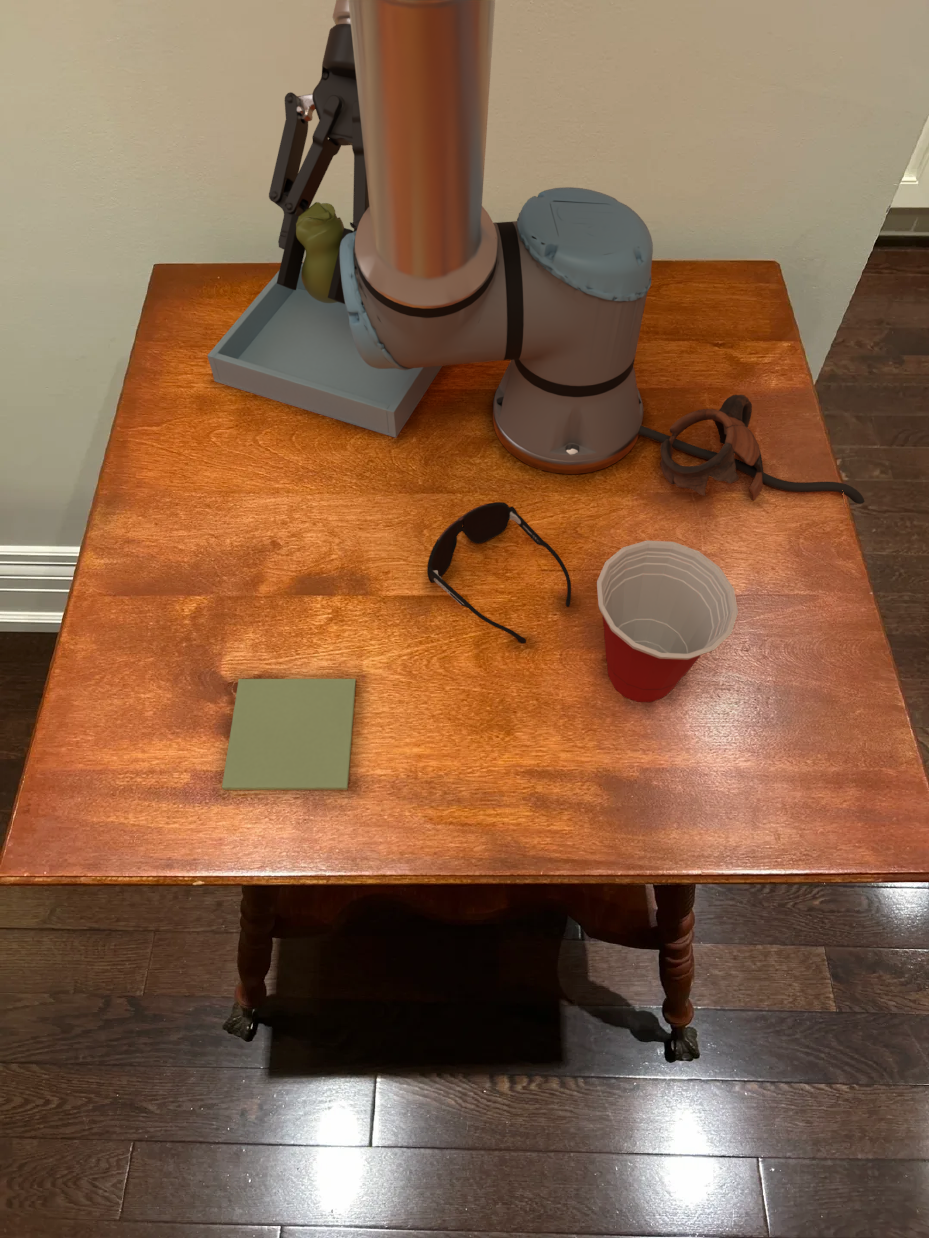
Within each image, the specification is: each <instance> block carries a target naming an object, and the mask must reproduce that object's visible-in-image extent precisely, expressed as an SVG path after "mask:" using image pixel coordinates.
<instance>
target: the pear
mask: <svg viewBox="0 0 929 1238" xmlns="http://www.w3.org/2000/svg"><path fill="white" fill-rule="evenodd" d="M344 228H345V226H344V223H343V221H342V218H341V217H338V216H337V214H336V209H335V207H334V206H333V205H332V204H331V203H327V202H325V203H324V202H323V203H321V202H319V201H315V202H314V203H313V204H311V205H310V207H309V208H308V209H307V210H306V211H305V212H304V213H302V214H301V215H300V216H299V218H298V221H297V223H296V236H297V239H298V240H299V242H300V243H301V244H302V245H303V246H304V248H305V256H304V258H303V266H302V271H301V276H302V282H303V285H304V287H305V289H306V290H307V292H308V293H309V294H310V295H311V296H312V297H313V298H315V299H316V300H318V301H320V302H323V303H336V302H337V301H335V300H332V299H330V298H328V294H329V290H330V285H331V281H332V277H333V273H334V268H335V264H336V260H337V256H338V252H339V247H340V243H341V239H342V235H343V230H344Z"/></svg>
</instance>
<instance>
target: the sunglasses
mask: <svg viewBox="0 0 929 1238" xmlns="http://www.w3.org/2000/svg"><path fill="white" fill-rule="evenodd" d="M509 521H514V522H515V523H516V525H518V526H519V528H520V529H521V530H522V531H524V533H525V534H526V535H527V536H528V537H529V538H530V539H531V540H532V542H534V543H535V544H536V545H537V546H540V547H543V548H545V549H547V551H548V552H549V553H550V554H551V555H552V556H553V558H554V559H555V560H556V561H557V563H558V565H559V566H560V568H561V570H562V572H563V574H564V577H565V580H566V588H567V591H566V598H565V606H566V607H567V608H570V606H571V601H572V600H571V599H572V582H571V581H572V580H571V577H570V574H569V572H568V569H567V567H566V565H565V563H564V562H563V560H562V558H561V557H560V556H559V554H558V553H557V552H556V551H555V549H553V547H551V545H550V544H549V543H548V542H546V541H545V540H543V538H541V536H540V535H539V534H538V533H537V532H536V530H534V529H533V528H532V526H531V525H529V524H528V522H526V520H524V518H523V517H521V515H520V514H519V513H518V511H517V509H516V508H515V507H514V506H513V505H512V506H509V505H508V504H507V503H506V502H502V501H496V502H489V503H485V504H481V505H479V506H476V507H474V508H472V509H470V510H469V511H467V512H466V513H464V514H463V515H462V516H461V515H460V516H459V517H458V518H457V519H456V520H455V521H453V522H452V523H451V524H450V525H449V526H447V527H446V528H445V529H444V531H443V532H442V533H441V534H440V535H439V537H438V538H437V540H436V541H435V543H434V545H433V547H432V549H431V551H430V554H429V557H428V561H427V568H426V574H427V577H428V581H429V582H430V583H431V584H434V583H435V584H437V585H438V586H439V587H440V588H441V589H442V590H443V591H444V592H446V593H447V594H448V595H449V596H450V597H451V598H452V599H453V600H455V601H456V602H457V603H458V604H459V605H460V606H462V607H465V608H467V609H468V610H469V611H471V613H473V614H474V615H475V616H477V617H478V618H479V619H481V620H482V621H484V622H485V623H487V624H489V625H491V626H492V627H494V628H497V629H499V630H501V631H504V632H505V633H507V634H509V635H511V636H512V637H513V638H514V639H516V640H517V642H518V643H520V644H526V643H527V639H526V638H525V637H523V636H521V635H520V634H519V633H517V632H516V631H514V630H513V629H510V628H508V627H506V626H504V625H502V624H500V623H497V622H495V621H493V620H491V619H490V618H488V617H487V616H485V615H484V614H482V613H481V612H480V611H479V610H477V609H476V608H475V607H474V606H473V605H471V603H470V602H469V601H467V600H466V599H465V597H463V596H461V594H460V593H459V592H458V591H456V590H455V589H454V588H453V587H452V586H451V585H449V583H447V582H446V581H445V580H444V579H443V578H442V577H443V575H444V574H445V573H446V572H447V571H448V569H449V568H450V566H451V564H452V561H453V558H454V553H455V551H456V547H457V545H458V539H457V538H458V535H459V534H460V533H463V534H464V535H465V537H467V539H469V541H471V542H472V543H474V544H483V543H486V542H488V541H490V540H491V539H494V538H495V537H497V536H500V535H501V534H502V533H504V532H505V531H506V529H507V528H508V526H509Z"/></svg>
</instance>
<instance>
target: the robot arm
mask: <svg viewBox="0 0 929 1238" xmlns="http://www.w3.org/2000/svg"><path fill="white" fill-rule="evenodd" d="M334 4H335V5H334V9H333V13H332V20H333V23H334V25H333V26H332V27H331V28H330V29H329V32H328V36H327V41H326V44H325V45H326V46H325V50H324V54H323V59H322V65H321V75H320V76H321V77H320V80H319V81H318V83H317V85H316V86H315V87H314V89H313V91H312V93H308V94H303V95H297V94H296V93H294V92H291V91H290V92H287V94H285V96H284V110H285V111H284V112H285V113H284V114H285V121H284V125H283V129H282V135H281V139H280V143H279V148H278V152H277V157H276V160H275V166H274V170H273V175H272V178H271V182H270V183H271V184H270V187H269V192H268V198H269V200H270V201H271V202H272V203H274V204H275V205H277V207H279V208H280V209H281V210H282V211H283V218H282V224H281V228H280V232H279V236H278V240H277V241H278V242H277V244H278V248H280V249H282V250H283V252H282V258H281V261H280V267H279V270H278V271H279V275H278V279H277V284H279V285H282V286H284V287H287V288H289V289H292V290H296V288H297V283H298V279H299V275H300V270H301V266H302V262H303V263H304V258H305V254H306V250H305V248H304V246H303V245H302V244H301V243H300V242H299V240H298V239H297V236H296V223H297V221H298V218H299V216H300V215H301V214H302V213H304V212H305V211H306V210H307V209H308V208H310V207H311V206H312V203H313V201H314V199H315V196H316V194H317V192H318V190H319V188H320V186H321V183H322V181H323V179H324V177H325V175H326V173H327V171H328V169H329V167H330V164H331V163H332V160H333V158H334V156H336V155H338V154H339V152H340V150H341V147H345V146H351V149H352V153H353V193H352V194H353V197H352V198H353V200H352V201H353V202H352V203H353V205H352V222H351V221H350V222H349V226H350V227H351V228H352V229H350V228H346V227H344V230H343V235H342V239H341V243H340V247H339V252H338V256H337V260H336V264H335V268H334V273H333V277H332V281H331V285H330V290H329V294H328V298H330V299H332V300H335V301H337V302H340V303H343V304H345V305H346V309H347V312H348V316H349V324H350V328H351V332H352V335H353V339H354V342H355V345H356V347H357V350H358V352H359V354H360V356H361V358H362V359H363V360H364V362H365V363H367V364H368V365H369V366H371V367H374V368H378V369H390V368H398V369H400V370H409V369H412V368H421V367H432V366H442V367H444V366H454V365H465V364H476V363H477V364H479V363H488V362H500V361H501V362H502V361H509V363H508V365H507V367H506V369H505V372H504V373H503V376H502V378H501V380H500V382H499V385H498V386H497V389H496V390H495V393H494V396H493V401H492V402H493V404H492V425H493V429H494V432H495V434H496V436H497V439H498V440H499V442H500V443H501V446H503V448H504V449H505V450H506V451H507V452H509V454H511V455H512V456H513V457H515V458H516V459H517V460H519V461H520V462H522V463H524V464H526V465H528V466H530V467H532V468H534V469H538V470H541V471H545V472H549V473H554V474H561V475H562V474H563V475H580V474H587V473H593V472H596V471H600V470H603V469H606V468H608V467H610V466H612V465H614V464H616V463H618V462H619V461H620V460H622V459H623V458H625V457H626V456H627V455H628V454H629V453H630V452H631V451H632V449H633V448H634V446H635V445H636V443H637V441H638V439H639V437H640V436H641V437H644V438H647V439H650V440H652V441H655V442H657V443H659V444H662V443H663V442H664V441H665V440H666V439H670V437H671V436H672V435H671V436H670V435H668V434H666V433H663V432H660V431H657V430H655V429H652V428H649V427H647V426H644V425H642V423H643V418H644V404H643V400H642V396H641V393H640V391H639V387H638V385H637V378H636V371H635V367H634V366H635V361H636V355H637V350H638V345H639V339H640V333H641V328H642V323H643V317H644V311H645V306H646V301H647V298H648V297H647V296H648V292H649V290H650V289H651V285H652V265H653V253H654V249H653V248H654V244H653V238H652V235H651V232H650V230H649V227H648V226H647V224H646V223H645V221H644V219H642V218H641V217H640V215H639V214H638V213H637V212H636V211H635V210H633V209H632V207H630V206H628V205H627V204H625V203H623V202H621V201H619V200H618V199H616V198H615V197H614V196H611V195H609V194H606V193H603V192H600V191H596V190H592V189H588V188H583V187H582V188H581V187H574V186H573V187H571V186H567V187H566V186H565V187H564V186H563V187H554V188H548V189H545V190H543V191H541V192H538V194H537V196H536V195H533V196H532V197H531V196H530V198H528V199H527V200H526V202H525V203H524V204H523V205H522V207H521V209H520V212H518V216H517V218H516V220H514V221H499V222H493V219H492V218H491V216H490V214H489V212H488V211H487V210H486V208H484V207H483V193H484V181H485V179H484V178H485V164H486V162H485V161H486V147H487V133H488V132H487V131H488V117H489V116H488V115H489V103H490V102H489V100H490V89H491V87H490V86H491V70H492V54H493V41H494V40H493V39H494V25H495V24H494V23H495V9H496V0H335V3H334ZM314 112H316V115H317V119H318V123H317V125H316V127H315V129H314V131H313V134H312V136H311V137H312V142H311V145H310V147H309V149H308V152H307V153H306V156H305V157H304V160H303V162H302V159H303V155H304V150H305V146H306V141H307V137H308V132H309V122H311V121H313V113H314ZM301 163H302V164H301ZM672 447H673V449H675V450H677V451H680V452H683V453H685V454H688V455H691V456H694V457H697V458H700V459H703V460H707V461H708V460H710V459H711V458H713V457H714V456H715V455H716V454H717V453H718V451H717V452H716V451H713V450H710V449H706V448H703V447H699V446H697V445H694V444H691V443H688V442H686V441H683V440H680V439H678V438H676V439H675V440H674V441H673V443H672ZM734 459H735V464H736V471H740V472H741V473H743V474H746V475H747V476H748V477H750V478H752V479H754V478H755V476H756V473H757V470H756V468H755V467H753V466H750V465H748V464H746V463H745V462H744V461H743V460H740V459H738V458H735V457H734ZM762 478H763V484H764V485H766V486H769V487H771V488H774V489H777V490H781V491H785V492H791V493H818V492H834V493H839V494H842V495H844V496H847V498H849V499H850V500H851V501H852V502H853V503H856V504H859V505H861V504H864V503H865V502H866V501H865V498H864V497H863V495H862V494H861V492H860V491H858V490H857V489H856V488H855V487H853V486H851V485H849V484H847V483H844V482H839V481H810V482H809V481H807V482H806V481H804V482H801V481H800V482H799V481H798V482H797V481H789V480H783V479H780V478H778V477H775V476H772V475H770V474H768V473H767V472H764V471H763V476H762ZM842 490H843V491H842ZM843 492H844V494H843Z"/></svg>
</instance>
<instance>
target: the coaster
mask: <svg viewBox="0 0 929 1238" xmlns="http://www.w3.org/2000/svg"><path fill="white" fill-rule="evenodd" d="M236 687H237V688H236V694H235V700H234V707H233V713H232V720H231V724H230V733H229V739H228V745H227V752H226V759H225V763H224V764H225V765H224V772H223V777H222V784H221V785H222V786H221V788H222V790H223V791H329V790H330V791H340V790H341V791H348V790H349V782H350V767H351V757H352V756H351V753H352V743H353V742H352V741H353V729H354V716H355V702H356V688H357V679H356V678H238V680H237V686H236Z"/></svg>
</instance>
